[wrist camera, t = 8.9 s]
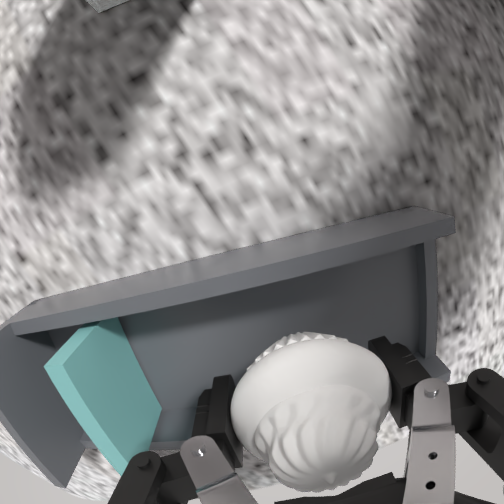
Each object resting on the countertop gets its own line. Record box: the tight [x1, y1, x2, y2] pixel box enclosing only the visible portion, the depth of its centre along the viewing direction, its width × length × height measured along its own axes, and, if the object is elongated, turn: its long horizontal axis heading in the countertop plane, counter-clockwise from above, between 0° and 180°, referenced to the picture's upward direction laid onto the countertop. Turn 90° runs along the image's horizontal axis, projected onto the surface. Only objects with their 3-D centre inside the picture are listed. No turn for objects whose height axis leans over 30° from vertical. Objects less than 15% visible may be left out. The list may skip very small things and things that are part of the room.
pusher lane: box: [0, 206, 455, 488], centre depth 14 cm, size 25×10×8 cm, turn 104°
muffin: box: [230, 332, 392, 492], centre depth 10 cm, size 6×6×7 cm
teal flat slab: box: [44, 317, 162, 477], centre depth 14 cm, size 1×8×6 cm, turn 15°
